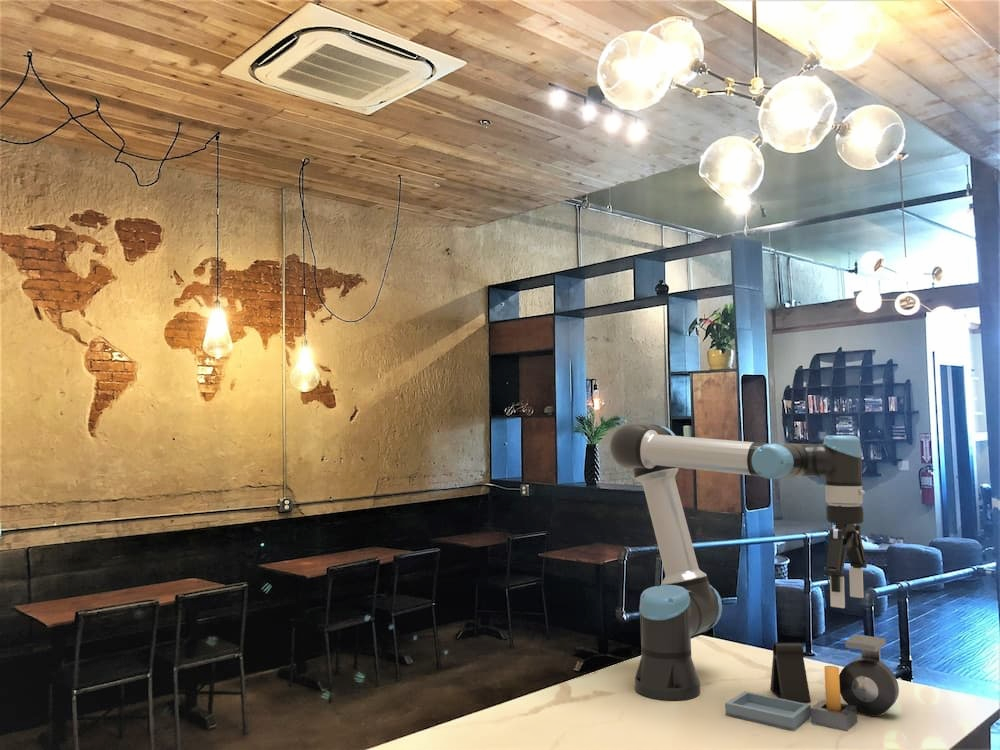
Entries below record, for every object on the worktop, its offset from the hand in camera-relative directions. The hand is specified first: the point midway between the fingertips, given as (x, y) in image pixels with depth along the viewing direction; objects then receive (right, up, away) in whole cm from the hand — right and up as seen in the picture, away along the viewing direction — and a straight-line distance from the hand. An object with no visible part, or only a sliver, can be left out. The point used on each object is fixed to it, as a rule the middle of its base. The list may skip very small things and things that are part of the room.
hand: (847, 602), depth 166 cm
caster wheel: (+3, -23, -4) cm, 23 cm away
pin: (-7, -22, -10) cm, 25 cm away
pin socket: (-7, -22, -10) cm, 25 cm away
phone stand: (-10, -24, +7) cm, 27 cm away
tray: (-19, -23, -5) cm, 30 cm away
